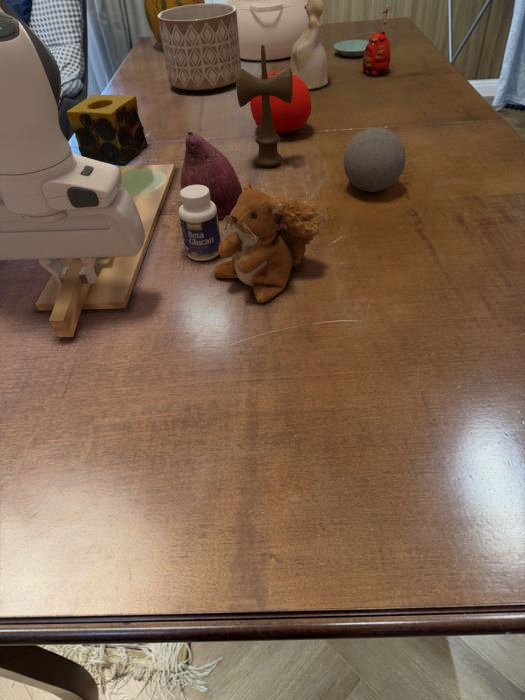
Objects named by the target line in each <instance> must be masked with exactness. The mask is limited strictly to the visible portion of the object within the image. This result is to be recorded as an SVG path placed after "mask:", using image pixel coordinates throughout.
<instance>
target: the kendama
mask: <svg viewBox="0 0 525 700" xmlns="http://www.w3.org/2000/svg"><path fill="white" fill-rule="evenodd" d="M260 67H261V68H260V69H261V72H260V73H261V75H262V78H259V77H260V76H261V75H260V76H256V75H253V74H251V73H250V72H248V71H247V70H245V69H244V68H242V67H241V68H238V70H237V75H236V82H235V85H236V87H235V89H236V97H237V98H236V99H237V103H238V105H239V107H240V108H243V107H245V106H246V105H247V104H248V103H250V101H251V100H252V99H254V98H255V97H258V96H262V109H261V124H260V128H259V131H258V134H257V136H255V143H257V145H258V154H257V155H256V157H255V164H256V165H258V166H260V167H264V168H270V167H276V166H278V165H280V164H281V163H282V162H283V157H282V155H281V154H280V153H279V152H278V143H279V142H280V140H281V135H279V133H276V132H275V129H274V124H273V119H272V113H271V107H270V99H269V96H274V97H277V98H279V99H281V100H282V101H284V102H286V103H291V101H292V95H293V78H292V70H291V68H290V66H287V67H285V68H284V69H282V70H281V72H279V73H278V74H276V75H274V76H271V77H267V73H268V68H267V67H268V65H267V61H266V55H265V47H264V45H262V46H261V61H260Z"/></svg>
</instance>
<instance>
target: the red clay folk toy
mask: <svg viewBox="0 0 525 700" xmlns="http://www.w3.org/2000/svg"><path fill="white" fill-rule="evenodd" d="M391 5H392V3H389V5H388V7H386V8H384V9H382V14H385V16H384V20H383V26H382V29H381V31H380V32H373V33H372V35H371V36H370V37H369V39H368V41H369V43H368V44H367V45H366V48H365V52H364V55H363V57H362V72H363V73H366V75H368V76H371V77H377V76H379V75H384V74H387V72H388V70H389V68H390V65H391V55H392V54H391V53H392V52H391V43H390V41H389V38H388V37H387V34H386V32H385V26H386V25H387V17H388V13H389V11H392V9H391Z"/></svg>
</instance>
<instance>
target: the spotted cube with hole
mask: <svg viewBox="0 0 525 700" xmlns="http://www.w3.org/2000/svg"><path fill="white" fill-rule="evenodd" d="M66 115H67V117H68V120H69V121H68V122H69V123H70V127H71V129H72V131H73V133H74V137H75V140H76V142H77V145H78V151H79V154H80V156H83V157H86V158H89V159H93V160H96V161H100V162H104V163H108V164H113V165H126V164H127V163H129V161H131V160H133V158H135V157H136V156H137V155H138V154H139V153H140V152H141V151H142V150H143V149H144V148H146V147H148V145H149V144H148V141H147V138H146V134H145V129H144V128H145V127H144V126H143V124H142V122H141V119H140V117H139V107H138V98H137V96H136V95H124V94H123V95H120V94H119V95H118V94H117V95H116V94H91V95H90V96H89V97H87V98H85V99H83V100H82V101H81V102H79V103H77V104H76V105H74V106H73V107H72V108H70V109H68V110H67V111H66Z"/></svg>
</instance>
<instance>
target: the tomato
mask: <svg viewBox="0 0 525 700" xmlns="http://www.w3.org/2000/svg"><path fill="white" fill-rule="evenodd" d="M281 71H282V70H281ZM281 71H279V70H278V71H270V72H267V77H271V76H274V75H276V74H278V73H279V72H281ZM258 77H259V78H262V75H259V76H258ZM292 78H293V95H292V101H291V103H286V102H284V101H282V100H281V99H279V98H277V97H274V96H269V99H270V107H271V113H272V119H273V124H274V129H275V132H276V133H277V134H283V133H290V132H294V131H296V130H297V131H298V130H299V129H300V128H301V127H303V126H304V125H305V124H306V123H307V121H308V120H309V118H310V116H311V113H312V98H311V93H310V91H309V90H308V87H307V86H306V85H305V83H304V82H303V81H302V80H301V79H300V78H299V77H298V76H296V75H294V74H292ZM249 107H250V111H251V115H252V118H253V120H254V123H255V125H256V126H257V127H258V128H259V129H260V124H261V109H262V96H258V97H255V98H254V99H252V100H251V101H250V102H249Z"/></svg>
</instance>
